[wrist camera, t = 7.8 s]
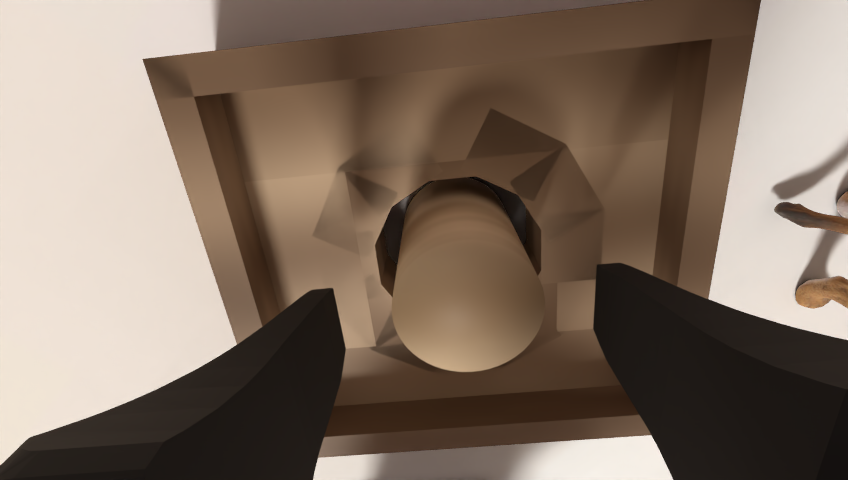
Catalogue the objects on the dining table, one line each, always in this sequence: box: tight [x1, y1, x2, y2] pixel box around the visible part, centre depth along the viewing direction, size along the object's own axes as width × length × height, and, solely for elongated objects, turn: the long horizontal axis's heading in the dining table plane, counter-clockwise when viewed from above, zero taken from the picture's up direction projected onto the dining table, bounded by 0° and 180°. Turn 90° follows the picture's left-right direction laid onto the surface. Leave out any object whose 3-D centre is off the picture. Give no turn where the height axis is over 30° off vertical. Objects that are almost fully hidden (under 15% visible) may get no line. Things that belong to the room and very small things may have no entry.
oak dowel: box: [392, 177, 545, 372], centre depth 14 cm, size 4×4×6 cm
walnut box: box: [143, 0, 761, 458], centre depth 15 cm, size 14×15×4 cm
